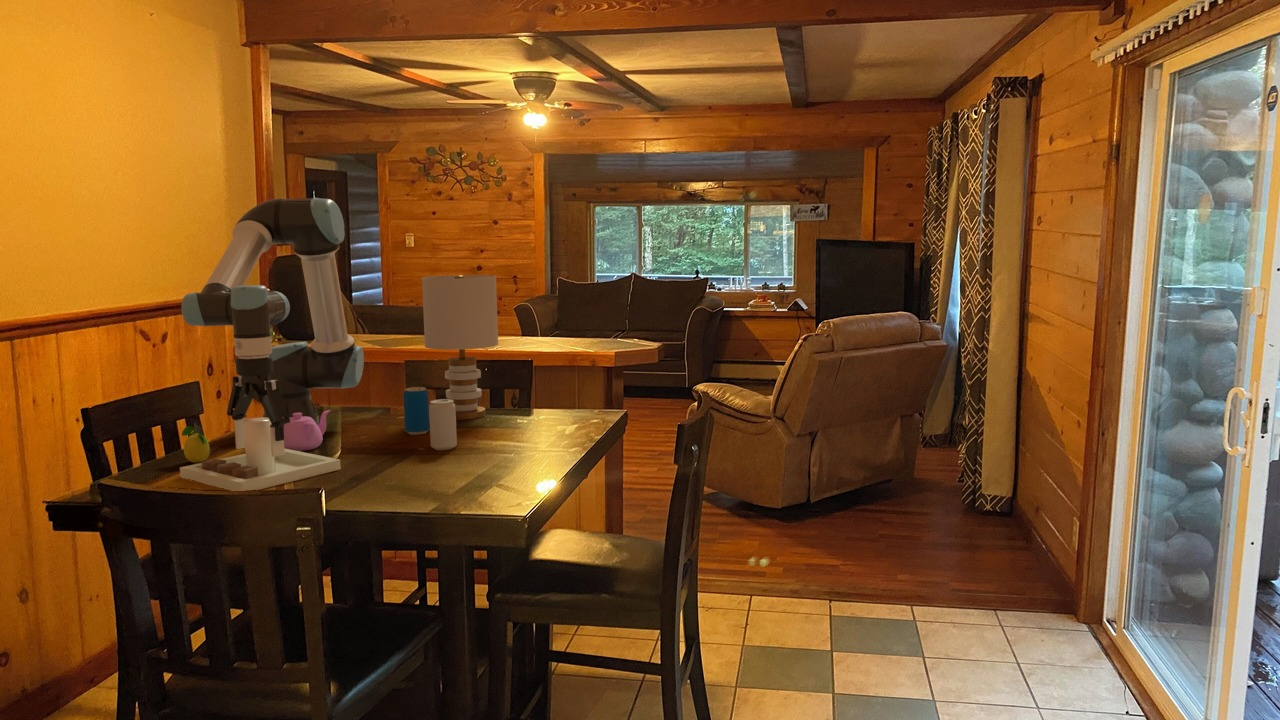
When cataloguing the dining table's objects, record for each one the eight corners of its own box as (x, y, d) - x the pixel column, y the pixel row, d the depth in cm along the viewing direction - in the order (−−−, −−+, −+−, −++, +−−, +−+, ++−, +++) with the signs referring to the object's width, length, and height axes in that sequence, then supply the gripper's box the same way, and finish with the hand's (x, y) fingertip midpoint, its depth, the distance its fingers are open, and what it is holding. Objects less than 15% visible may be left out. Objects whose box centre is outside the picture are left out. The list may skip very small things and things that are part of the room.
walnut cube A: (202, 477, 211) (201, 462, 210) (215, 474, 214) (214, 458, 213) (213, 479, 209) (212, 463, 209) (227, 475, 212) (225, 460, 212)
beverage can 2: (461, 446, 242) (459, 399, 240) (448, 451, 236) (446, 403, 234) (439, 444, 244) (437, 397, 243) (425, 450, 238) (423, 402, 237)
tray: (180, 480, 211) (179, 467, 211) (277, 459, 231) (277, 446, 230) (243, 497, 197) (242, 483, 197) (340, 472, 217) (340, 459, 216)
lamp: (431, 410, 292) (426, 274, 286) (501, 407, 294) (497, 273, 288) (424, 423, 271) (417, 277, 265) (499, 421, 273) (494, 276, 268)
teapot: (265, 453, 237) (262, 418, 236) (287, 441, 251) (285, 408, 250) (312, 453, 237) (310, 417, 235) (332, 441, 250) (330, 407, 249)
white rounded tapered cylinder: (241, 474, 213) (237, 420, 212) (265, 468, 218) (262, 416, 216) (257, 477, 210) (253, 423, 208) (281, 472, 215) (278, 419, 213)
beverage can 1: (433, 430, 262) (431, 386, 260) (425, 435, 255) (423, 390, 254) (409, 430, 263) (407, 386, 261) (401, 435, 256) (399, 390, 255)
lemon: (183, 463, 228) (180, 421, 226) (210, 460, 230) (207, 419, 229) (182, 469, 222) (179, 427, 220) (210, 466, 224) (207, 424, 223)
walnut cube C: (233, 486, 203) (232, 469, 203) (244, 481, 207) (243, 466, 206) (247, 487, 202) (246, 470, 202) (258, 482, 206) (257, 466, 205)
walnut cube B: (218, 480, 208) (217, 465, 207) (234, 477, 210) (233, 462, 210) (226, 483, 205) (225, 467, 205) (242, 480, 208) (240, 464, 208)
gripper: (206, 354, 215) (213, 447, 218) (271, 362, 200) (278, 462, 203) (237, 350, 221) (243, 441, 224) (303, 358, 206) (309, 455, 209)
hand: (260, 451), depth 213 cm, fingers open, 13 cm apart
